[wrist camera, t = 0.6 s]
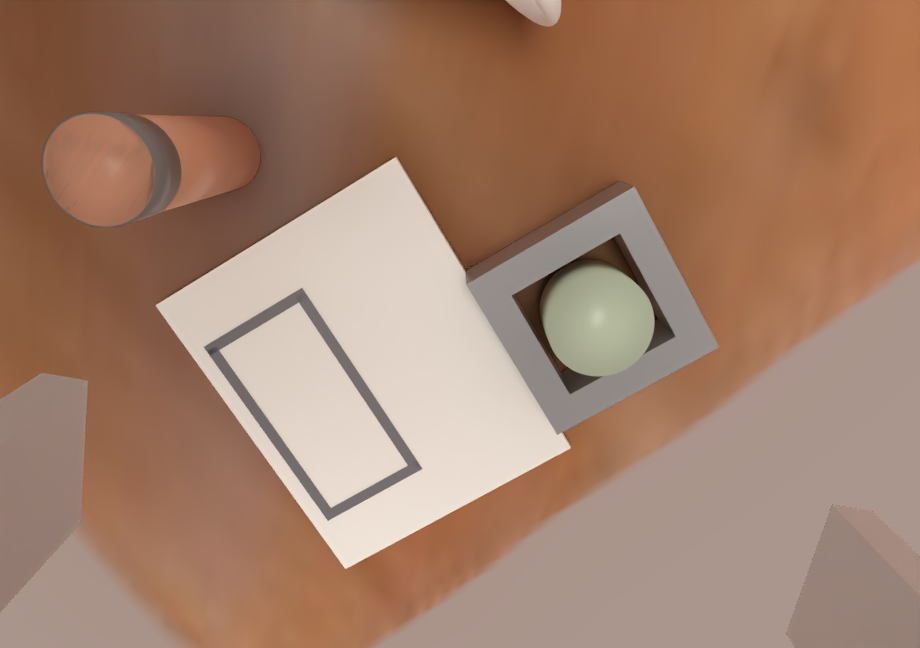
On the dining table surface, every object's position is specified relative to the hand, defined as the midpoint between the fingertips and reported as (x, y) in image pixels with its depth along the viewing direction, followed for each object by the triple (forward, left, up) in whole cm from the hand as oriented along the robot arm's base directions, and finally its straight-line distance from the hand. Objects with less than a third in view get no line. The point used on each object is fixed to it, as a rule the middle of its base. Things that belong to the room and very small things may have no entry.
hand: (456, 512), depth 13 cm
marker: (-10, -6, -22) cm, 25 cm away
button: (+4, +4, -21) cm, 22 cm away
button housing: (+4, +4, -22) cm, 23 cm away
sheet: (+2, -6, -22) cm, 23 cm away
